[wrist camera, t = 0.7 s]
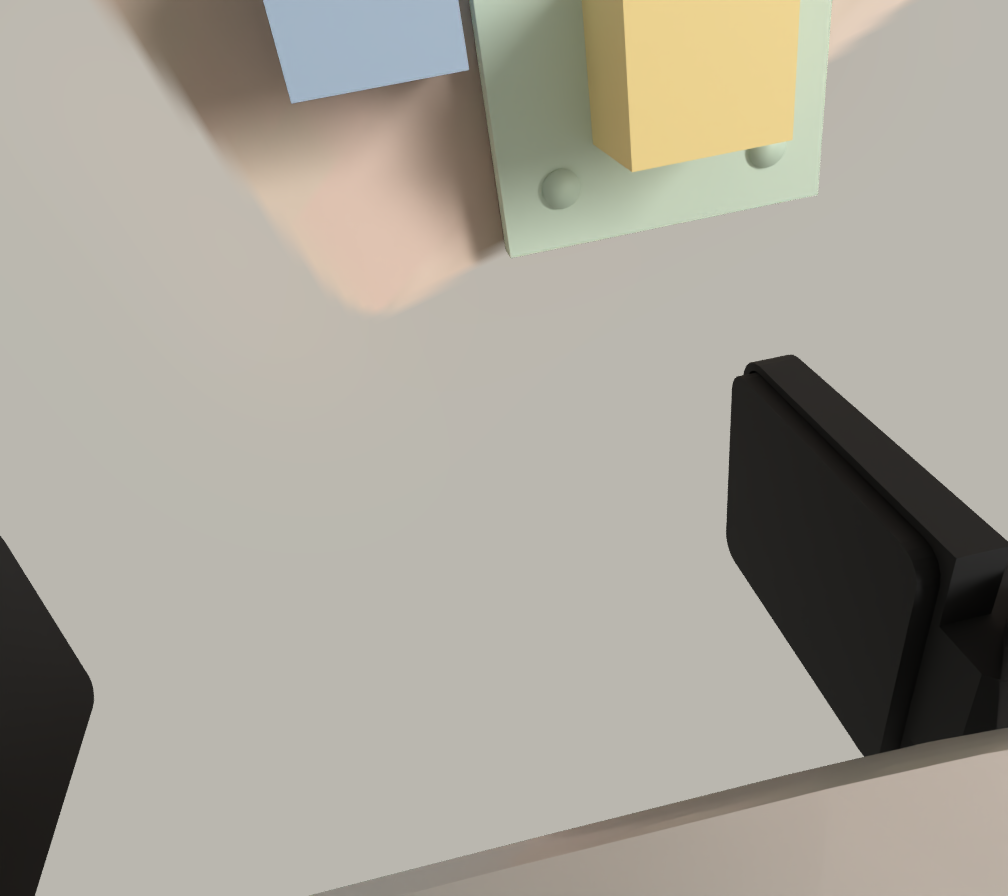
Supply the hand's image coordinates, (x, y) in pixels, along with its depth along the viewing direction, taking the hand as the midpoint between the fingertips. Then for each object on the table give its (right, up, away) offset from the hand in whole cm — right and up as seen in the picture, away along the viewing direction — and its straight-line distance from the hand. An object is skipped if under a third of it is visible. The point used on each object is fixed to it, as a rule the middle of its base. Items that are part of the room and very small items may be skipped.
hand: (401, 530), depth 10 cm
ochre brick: (+7, +17, +20) cm, 27 cm away
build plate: (+7, +17, +21) cm, 28 cm away
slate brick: (-4, +18, +18) cm, 26 cm away
